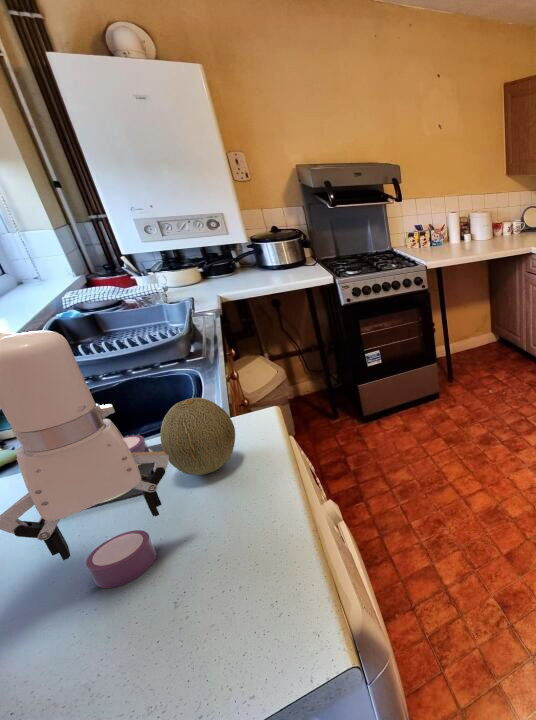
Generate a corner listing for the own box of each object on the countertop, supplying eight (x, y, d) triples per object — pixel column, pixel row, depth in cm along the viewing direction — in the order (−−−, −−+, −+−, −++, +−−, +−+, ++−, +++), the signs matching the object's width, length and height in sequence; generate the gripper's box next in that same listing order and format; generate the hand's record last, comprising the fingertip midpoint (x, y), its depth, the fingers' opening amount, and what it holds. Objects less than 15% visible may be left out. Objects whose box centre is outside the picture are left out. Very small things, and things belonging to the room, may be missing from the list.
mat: (59, 515, 74) (57, 513, 74) (97, 459, 88) (96, 457, 88) (146, 493, 78) (145, 491, 78) (169, 443, 93) (168, 441, 93)
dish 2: (98, 475, 83) (91, 460, 81) (112, 455, 89) (105, 440, 87) (144, 465, 85) (138, 449, 84) (154, 445, 91) (148, 431, 90)
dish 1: (86, 596, 60) (76, 577, 58) (105, 557, 65) (96, 539, 64) (149, 576, 62) (140, 558, 61) (162, 541, 68) (154, 523, 67)
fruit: (255, 450, 90) (236, 386, 84) (218, 488, 79) (194, 417, 74) (201, 450, 90) (179, 386, 85) (158, 488, 80) (130, 417, 74)
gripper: (140, 392, 63) (178, 487, 70) (-42, 449, 51) (23, 557, 58) (152, 409, 59) (192, 508, 65) (-45, 476, 47) (26, 590, 53)
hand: (112, 531), depth 61 cm, fingers open, 9 cm apart
